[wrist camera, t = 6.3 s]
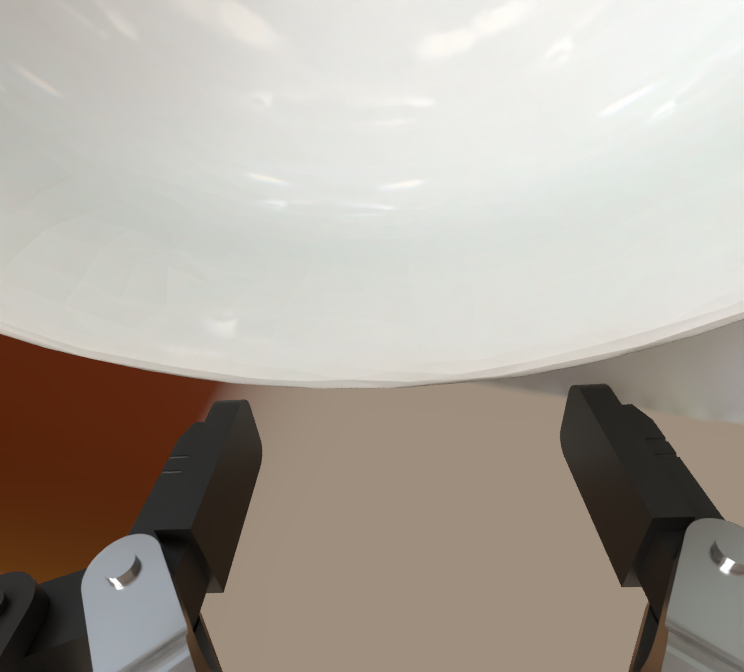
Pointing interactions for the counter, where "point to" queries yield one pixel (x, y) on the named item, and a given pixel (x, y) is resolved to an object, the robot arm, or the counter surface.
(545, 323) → the cereal bowl
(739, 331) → the counter surface
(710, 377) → the counter surface
